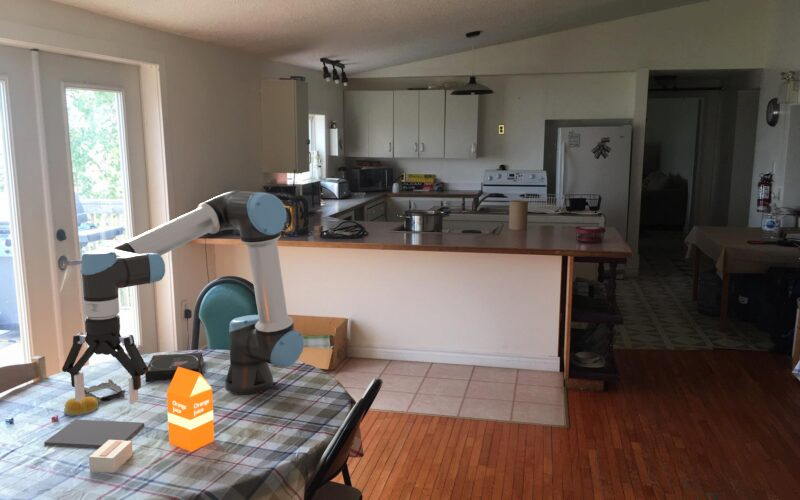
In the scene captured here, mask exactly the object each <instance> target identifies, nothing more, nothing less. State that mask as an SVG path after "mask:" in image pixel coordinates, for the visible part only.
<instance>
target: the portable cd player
mask: <svg viewBox="0 0 800 500" xmlns="http://www.w3.org/2000/svg"><path fill="white" fill-rule="evenodd" d="M204 360H205V359H204V355H203V353H202V352H192V353H191V352H190V353H188V352H187V353H173V354H171V353H170V354H158V355H157V354H154V355H152V357H151V359H150V361H149V363H148V364H147V368H148V372H146V373H145V374H144V375H145V376H144V378H145V383H146V382H148V383H149V382H150V383H151V382H162V381H163V382H165V381H172V379H173V377H174V375H175V373H176V370H177V368H178V367H181V368H185V369H188V370H191V371H195V372H198V373H200V374H201V373H202V369H203V368H202V367H203V365H204Z"/></svg>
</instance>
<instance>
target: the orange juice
mask: <svg viewBox="0 0 800 500" xmlns="http://www.w3.org/2000/svg"><path fill="white" fill-rule="evenodd" d="M170 381H171V382H170V384H169V386H168V388H167V390H166V401H167V404H166V405H167V423H168V426H167V427H168V443H169V444H171V445H174V446H175V447H178V448H181V449H183V450H187V451H188V452H194V451H196V450H198V449H200V448H202V447H204V446H206V445H208V444H210V443H211V442H214V441H215V430H214V428H215V427H214V405H213V402H214V401H213V398H214V397H213V387H212V386H211V385H210V384H209V382H208V380H206V379H205V377H204V376H203V375H202V374H201V373H198V372H195V371H191V370H188V369H185V368H181V367H178V368H177V370H176V373H175V375H174V377H173V379H172V380H170Z"/></svg>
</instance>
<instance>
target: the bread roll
mask: <svg viewBox="0 0 800 500" xmlns="http://www.w3.org/2000/svg"><path fill="white" fill-rule="evenodd" d="M98 406H99V402H98V401H97V400H96V399H95V398H94V397H91V396H90V397H86V396H85V397H84V398H83V399H81V400H80V401H76V399H75V397H74V398H70V399H68V400H67V401H66V402H65V404H64V408H63V411H64V414H65V415H67V416H80V415H83V414H84V415H86V414H90V413H92V412H93V413H94V412H95V410H97V409H98V408H99V407H98Z"/></svg>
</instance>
